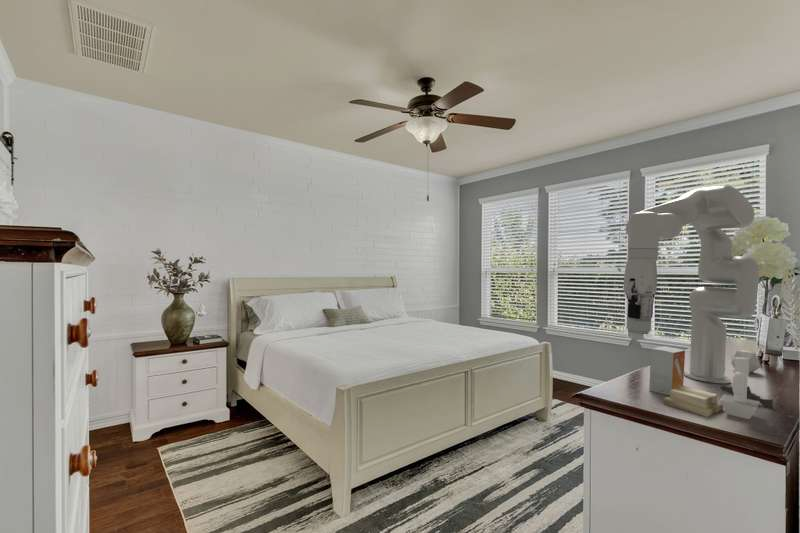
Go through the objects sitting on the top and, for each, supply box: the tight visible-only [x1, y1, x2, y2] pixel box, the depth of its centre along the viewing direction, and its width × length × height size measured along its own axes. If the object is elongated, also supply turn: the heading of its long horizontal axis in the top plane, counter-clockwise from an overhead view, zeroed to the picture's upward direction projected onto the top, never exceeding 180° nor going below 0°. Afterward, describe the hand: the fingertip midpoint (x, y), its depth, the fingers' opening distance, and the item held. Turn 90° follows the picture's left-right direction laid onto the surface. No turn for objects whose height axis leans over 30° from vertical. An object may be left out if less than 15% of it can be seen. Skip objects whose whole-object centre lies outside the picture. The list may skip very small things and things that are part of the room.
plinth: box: [663, 385, 724, 417], centre depth 106 cm, size 10×10×4 cm
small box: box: [648, 345, 686, 397], centre depth 119 cm, size 8×6×13 cm
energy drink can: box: [626, 286, 652, 335], centre depth 113 cm, size 6×6×15 cm
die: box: [729, 349, 761, 374], centre depth 145 cm, size 8×9×10 cm
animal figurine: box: [720, 385, 774, 409], centre depth 112 cm, size 12×4×5 cm, turn 43°
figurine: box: [719, 357, 760, 420], centre depth 101 cm, size 7×9×15 cm
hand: (640, 316), depth 113 cm, fingers closed on energy drink can, 6 cm apart
